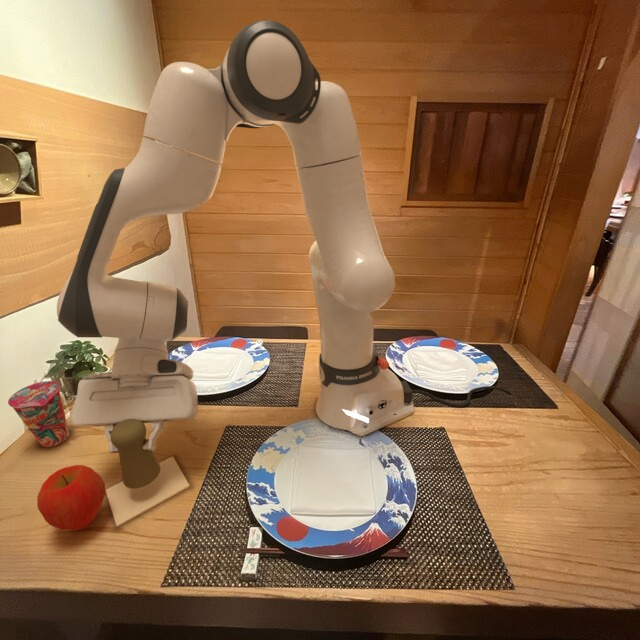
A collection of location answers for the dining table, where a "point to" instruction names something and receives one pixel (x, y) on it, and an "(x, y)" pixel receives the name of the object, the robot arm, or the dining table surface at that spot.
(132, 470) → the pepper shaker
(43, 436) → the cup
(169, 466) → the napkin
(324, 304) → the robot arm
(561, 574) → the dining table surface
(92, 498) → the apple
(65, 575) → the dining table surface
